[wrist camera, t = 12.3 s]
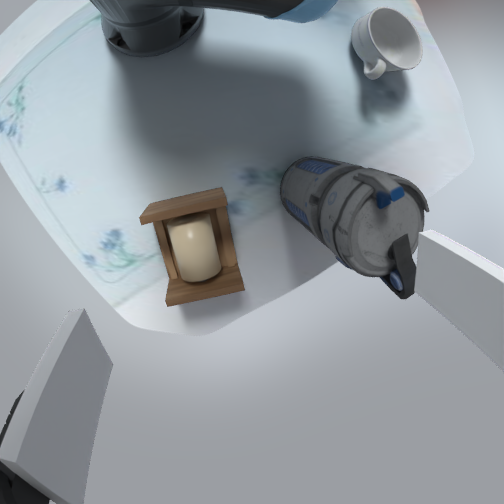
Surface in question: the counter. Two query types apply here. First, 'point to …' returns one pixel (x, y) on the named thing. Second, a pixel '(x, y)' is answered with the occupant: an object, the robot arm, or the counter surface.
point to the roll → (194, 246)
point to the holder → (216, 207)
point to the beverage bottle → (359, 217)
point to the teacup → (386, 42)
